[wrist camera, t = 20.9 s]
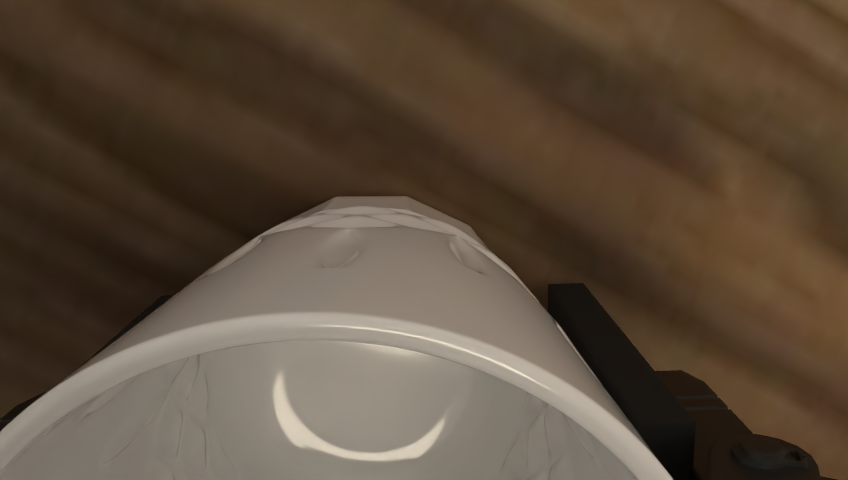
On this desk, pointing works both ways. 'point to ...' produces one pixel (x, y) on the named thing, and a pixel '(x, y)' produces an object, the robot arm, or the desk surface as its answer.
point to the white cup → (338, 370)
